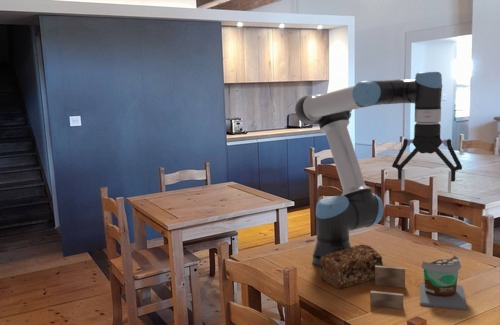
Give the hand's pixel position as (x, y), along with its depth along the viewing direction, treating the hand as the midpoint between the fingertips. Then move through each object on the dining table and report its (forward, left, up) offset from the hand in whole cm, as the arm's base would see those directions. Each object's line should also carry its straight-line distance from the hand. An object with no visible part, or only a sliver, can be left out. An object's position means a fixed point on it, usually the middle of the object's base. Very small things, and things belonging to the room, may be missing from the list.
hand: (425, 190), depth 145 cm
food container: (+6, -12, -29) cm, 31 cm away
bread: (-23, -5, -30) cm, 38 cm away
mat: (+5, -12, -29) cm, 32 cm away
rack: (-10, -15, -29) cm, 35 cm away
